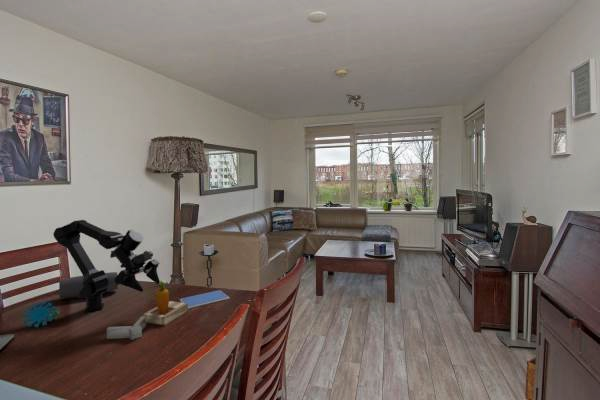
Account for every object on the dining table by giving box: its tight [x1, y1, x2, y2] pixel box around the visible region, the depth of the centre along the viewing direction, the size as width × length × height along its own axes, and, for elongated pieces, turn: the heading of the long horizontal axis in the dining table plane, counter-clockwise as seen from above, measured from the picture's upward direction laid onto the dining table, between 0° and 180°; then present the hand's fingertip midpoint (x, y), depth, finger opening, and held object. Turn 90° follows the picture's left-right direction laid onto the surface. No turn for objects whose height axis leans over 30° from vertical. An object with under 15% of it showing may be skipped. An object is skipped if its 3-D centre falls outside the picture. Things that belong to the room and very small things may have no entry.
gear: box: [22, 301, 61, 328], centre depth 124 cm, size 11×6×10 cm
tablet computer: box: [179, 289, 230, 310], centre depth 146 cm, size 19×13×1 cm, turn 126°
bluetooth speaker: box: [58, 271, 119, 299], centre depth 152 cm, size 23×9×10 cm, turn 120°
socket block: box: [142, 300, 189, 326], centre depth 129 cm, size 10×14×3 cm
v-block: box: [106, 315, 147, 341], centre depth 114 cm, size 9×13×4 cm, turn 140°
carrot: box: [155, 280, 170, 315], centre depth 126 cm, size 5×5×15 cm
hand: (151, 287), depth 128 cm, fingers open, 9 cm apart
